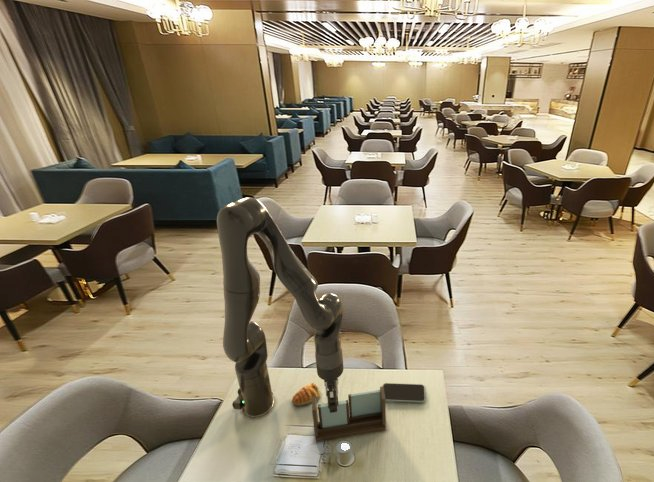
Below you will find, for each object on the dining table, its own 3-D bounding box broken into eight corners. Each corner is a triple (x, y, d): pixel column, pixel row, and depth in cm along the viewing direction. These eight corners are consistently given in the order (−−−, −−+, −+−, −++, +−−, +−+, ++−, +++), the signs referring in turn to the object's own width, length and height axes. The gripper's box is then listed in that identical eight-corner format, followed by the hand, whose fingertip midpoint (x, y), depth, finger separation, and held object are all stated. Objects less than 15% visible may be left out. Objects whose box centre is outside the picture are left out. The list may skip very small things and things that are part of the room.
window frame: (315, 425, 114) (312, 395, 108) (382, 414, 118) (382, 385, 112) (315, 442, 109) (311, 411, 103) (385, 430, 113) (385, 400, 107)
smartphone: (425, 401, 122) (381, 399, 122) (424, 403, 122) (381, 401, 122) (424, 384, 129) (383, 382, 129) (424, 386, 129) (383, 384, 129)
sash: (320, 426, 112) (316, 391, 105) (349, 421, 113) (347, 387, 107) (320, 431, 110) (316, 396, 104) (350, 426, 112) (347, 392, 105)
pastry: (297, 411, 118) (296, 403, 117) (289, 398, 123) (288, 390, 122) (322, 397, 124) (321, 389, 122) (313, 385, 129) (312, 377, 127)
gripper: (316, 343, 105) (320, 383, 112) (315, 380, 93) (320, 422, 100) (341, 340, 107) (344, 380, 114) (344, 376, 94) (347, 418, 101)
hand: (333, 399), depth 107 cm, fingers open, 8 cm apart
